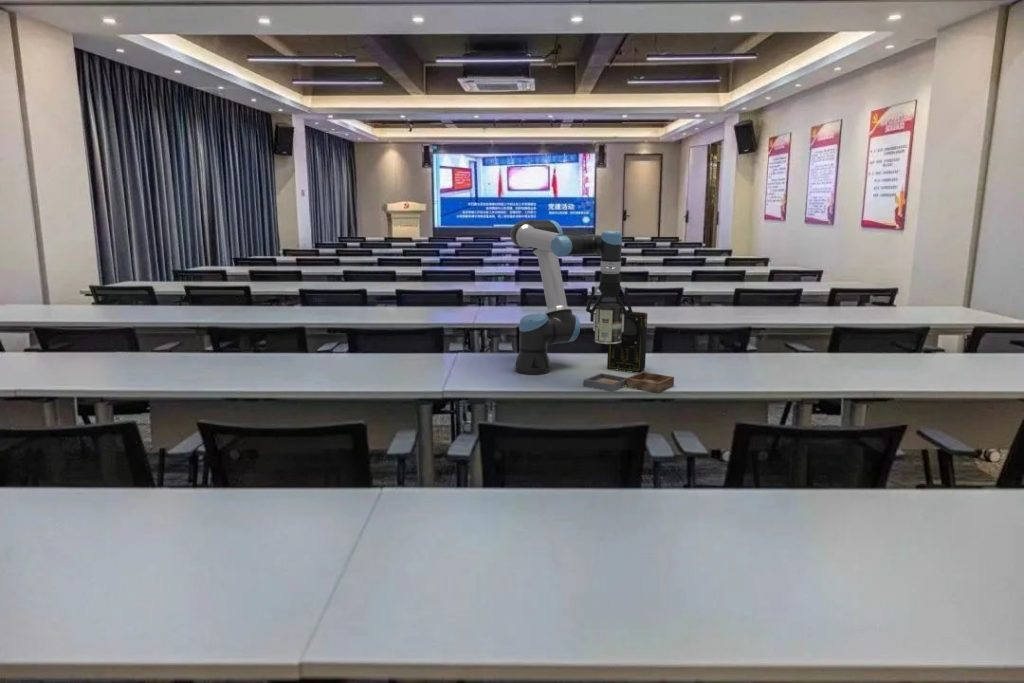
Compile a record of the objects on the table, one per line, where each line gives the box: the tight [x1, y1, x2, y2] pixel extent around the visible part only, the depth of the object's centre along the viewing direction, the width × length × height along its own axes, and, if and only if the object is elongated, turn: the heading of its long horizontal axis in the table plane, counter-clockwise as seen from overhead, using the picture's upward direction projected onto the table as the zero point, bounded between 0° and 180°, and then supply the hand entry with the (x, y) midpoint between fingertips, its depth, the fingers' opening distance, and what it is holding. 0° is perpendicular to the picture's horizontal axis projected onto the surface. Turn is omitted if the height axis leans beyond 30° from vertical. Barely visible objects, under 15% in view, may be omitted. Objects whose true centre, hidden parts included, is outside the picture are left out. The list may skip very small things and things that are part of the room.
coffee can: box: [594, 302, 622, 345], centre depth 261 cm, size 10×10×14 cm
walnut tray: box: [625, 371, 675, 394], centre depth 264 cm, size 14×14×4 cm
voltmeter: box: [606, 311, 648, 374], centre depth 288 cm, size 16×9×25 cm, turn 62°
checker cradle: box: [582, 372, 627, 393], centre depth 266 cm, size 13×13×2 cm
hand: (608, 330), depth 262 cm, fingers closed on coffee can, 10 cm apart
